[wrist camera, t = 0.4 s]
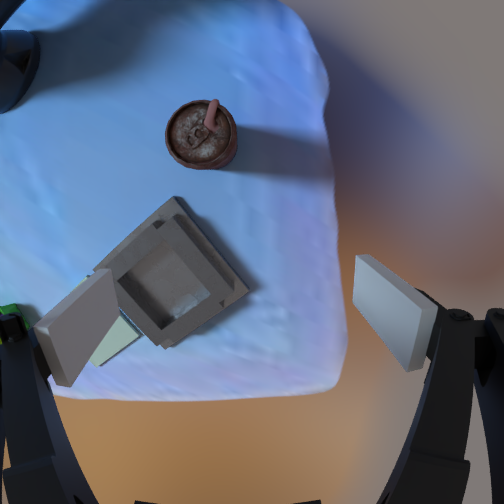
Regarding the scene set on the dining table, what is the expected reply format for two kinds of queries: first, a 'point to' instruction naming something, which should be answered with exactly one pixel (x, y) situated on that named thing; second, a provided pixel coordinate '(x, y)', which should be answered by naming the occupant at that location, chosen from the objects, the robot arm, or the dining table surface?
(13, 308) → the fruit basket
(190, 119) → the can
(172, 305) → the socket block
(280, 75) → the dining table surface
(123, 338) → the mat
